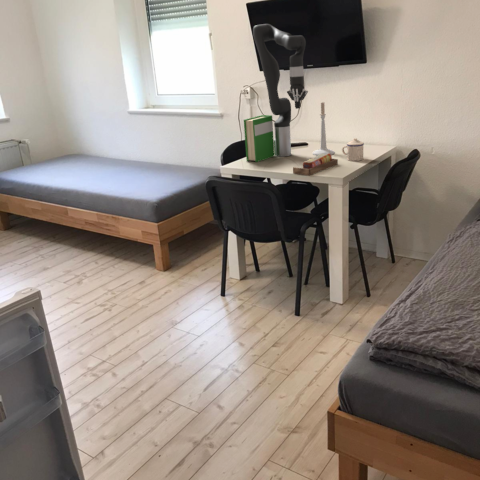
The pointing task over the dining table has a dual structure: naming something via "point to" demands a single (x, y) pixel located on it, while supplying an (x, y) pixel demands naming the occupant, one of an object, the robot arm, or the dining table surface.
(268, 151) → the hardback book
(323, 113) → the candlestick
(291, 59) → the robot arm
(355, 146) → the teacup with lid
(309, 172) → the walnut pocket
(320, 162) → the snack package
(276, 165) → the dining table surface
